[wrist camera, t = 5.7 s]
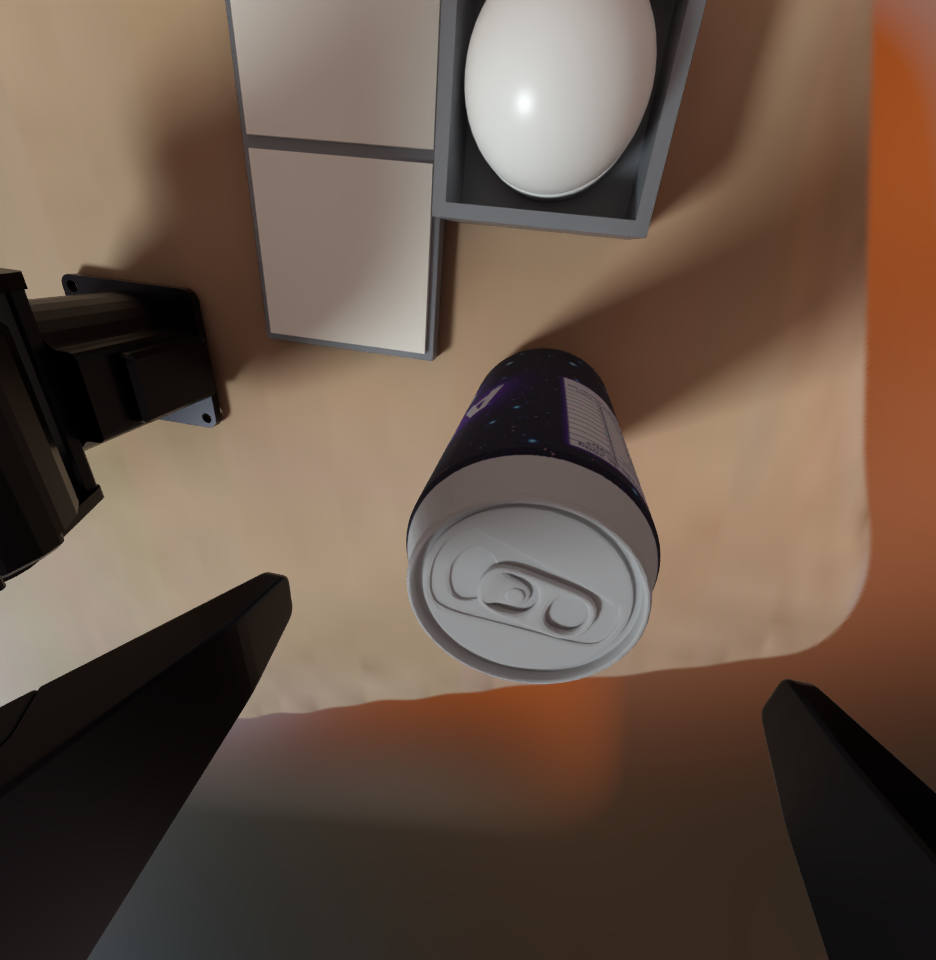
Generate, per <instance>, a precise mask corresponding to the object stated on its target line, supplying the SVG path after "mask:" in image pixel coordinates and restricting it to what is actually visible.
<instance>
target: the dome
mask: <svg viewBox="0 0 936 960" xmlns="http://www.w3.org/2000/svg"><path fill="white" fill-rule="evenodd" d="M656 57H657V46H656V29H655V23H654V16H653V12H652V9H651V5H650V1H649V0H486V2H485V4H484V5H483V7H482V9H481V12H480V14H479V16H478V18H477V21H476V23H475V26H474V29H473V32H472V36H471V39H470V43H469V48H468V52H467V58H466V67H465V102H466V110H467V115H468V120H469V124H470V127H471V130H472V134H473V136H474V138H475V141H476V143H477V145H478V148H479V150H480V151H481V153H482V155H483V157H484V158H485V160H486V161H487V163H488V164H489V165H490V167H491V168H492V169H493V170H494V172H495V173H496V174H497V175H498V176H499V177H500V179H501V180H502V181H503V182H504V183H505V184H506V185H507V186H508V187H509V188H510V189H512V190H513V191H514V192H516V193H517V194H519V195H521V196H523V197H525V198H528V199H531V200H534V201H539V202H559V201H564V200H568V199H571V198H573V197H576V196H578V195H580V194H582V193H584V192H585V191H587V190H589V189H590V188H592V187H593V186H594V185H595V184H597V183H598V182H599V181H600V180H601V179H602V178H603V177H604V176H605V175H606V174H607V173H608V172H609V171H610V169H611V168H612V167H613V166H614V164H615V163H616V162H617V160H618V159H619V157H620V156H621V155H622V153H623V152H624V150H625V149H626V147H627V146H628V144H629V143H630V141H631V139H632V138H633V136H634V134H635V133H636V131H637V129H638V127H639V125H640V123H641V120H642V118H643V115H644V113H645V110H646V108H647V105H648V102H649V98H650V95H651V91H652V88H653V82H654V77H655V71H656Z"/></svg>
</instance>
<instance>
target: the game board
mask: <svg viewBox="0 0 936 960" xmlns="http://www.w3.org/2000/svg"><path fill="white" fill-rule="evenodd" d="M225 2H226V10H227V18H228V26H229V34H230V42H231V50H232V58H233V66H234V74H235V81H236V89H237V97H238V105H239V113H240V121H241V129H242V137H243V145H244V153H245V160H246V168H247V176H248V184H249V192H250V200H251V208H252V216H253V224H254V232H255V239H256V247H257V255H258V263H259V271H260V279H261V287H262V295H263V303H264V311H265V318H266V326H267V334H268V338H271V339H278V340H285V341H292V342H299V343H306V344H314V345H321V346H328V347H335V348H342V349H349V350H357V351H364V352H371V353H378V354H385V355H392V356H400V357H407V358H414V359H421V360H428V361H433V360H434V359H435V358H436V357H437V348H438V331H439V313H440V296H441V278H442V261H443V244H444V226H445V219H442V218H437V217H433V216H432V204H433V181H434V159H435V137H436V114H437V92H438V70H439V47H440V25H441V3H442V0H225Z"/></svg>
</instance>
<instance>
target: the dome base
mask: <svg viewBox="0 0 936 960" xmlns="http://www.w3.org/2000/svg"><path fill="white" fill-rule="evenodd" d="M649 1H650V5H651V9H652V12H653V16H654V23H655V29H656V46H657V57H656V71H655V77H654V82H653V88H652V91H651V95H650V98H649V102H648V105H647V108H646V110H645V113H644V115H643V118H642V120H641V123H640V125H639V127H638V129H637V131H636V133H635V134H634V136H633V138H632V139H631V141H630V143H629V144H628V146H627V147H626V149H625V150H624V152H623V153H622V155H621V156H620V157H619V159H618V160H617V162H616V163H615V164H614V166H613V167H612V168H611V169H610V171H609V172H608V173H607V174H606V175H605V176H604V177H603V178H602V179H601V180H600V181H599V182H598V183H597V184H595V185H594V186H593V187H592V188H590V189H589V190H587V191H585V192H584V193H582V194H580V195H578V196H576V197H573V198H571V199H568V200H564V201H559V202H539V201H534V200H531V199H528V198H525V197H523V196H521V195H519V194H517V193H516V192H514V191H513V190H512V189H510V188H509V187H508V186H507V185H506V184H505V183H504V182H503V181H502V180H501V179H500V177H499V176H498V175H497V174H496V173H495V172H494V170H493V169H492V168H491V167H490V165H489V164H488V163H487V161H486V160H485V158H484V157H483V155H482V153H481V151H480V150H479V148H478V145H477V143H476V141H475V138H474V136H473V134H472V130H471V127H470V124H469V120H468V115H467V110H466V102H465V67H466V58H467V52H468V48H469V43H470V39H471V36H472V32H473V29H474V26H475V23H476V21H477V18H478V16H479V14H480V12H481V9H482V7H483V5H484V4H485V2H486V0H442V3H441V25H440V47H439V70H438V92H437V114H436V137H435V159H434V181H433V204H432V216H433V217H437V218H442V219H446V220H450V221H454V222H462V223H472V224H482V225H491V226H501V227H511V228H521V229H531V230H540V231H550V232H560V233H570V234H579V235H589V236H599V237H609V238H619V239H628V240H630V239H640V238H646V236H647V232H648V229H649V225H650V221H651V217H652V213H653V209H654V205H655V201H656V197H657V193H658V189H659V185H660V181H661V177H662V174H663V170H664V166H665V162H666V158H667V154H668V150H669V146H670V142H671V138H672V134H673V130H674V126H675V122H676V119H677V115H678V111H679V107H680V103H681V99H682V95H683V91H684V87H685V83H686V79H687V75H688V71H689V68H690V64H691V60H692V56H693V52H694V48H695V44H696V40H697V36H698V32H699V28H700V24H701V20H702V16H703V13H704V9H705V5H706V1H707V0H649Z"/></svg>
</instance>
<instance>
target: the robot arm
mask: <svg viewBox="0 0 936 960" xmlns="http://www.w3.org/2000/svg"><path fill="white" fill-rule="evenodd" d="M75 284H76V285H75ZM62 285H63V288H64V291H65V294H66V296H58V297H48V298H38V299H28V298H27V296H26V293H25V290H24V289H28V288H27V286H26V283H25V280H24V277H23V275H22V272H21V271H19V270H12V269H4V268H0V591H1V590H3V589H4V588H5V587H6V584H5V583H4V582H5V581H8V580H10V579H12V578H14V577H16V576H18V575H19V574H21V573H23V572H24V571H26V570H28V569H29V568H31V567H32V566H33V565H35V564H36V563H37V562H38V561H40V560H41V559H43V558H44V557H45V556H47V555H48V554H50V553H51V552H53V551H54V550H56V549H57V548H58V547H59V546H60V545H61V544H62V543H63V542H64V536H65V535H66V534H67V533H68V532H69V531H70V530H71V529H72V528H73V527H74V526H76V525H77V524H78V523H79V522H80V521H81V520H82V519H83V518H84V517H85V516H86V515H87V514H88V513H89V512H90V511H91V510H92V509H93V508H94V507H95V506H96V505H97V504H98V503H99V502H100V501H101V500H102V499H103V498H104V495H103V493H102V490H101V487H100V485H98V484H96V482H95V479H94V476H93V474H92V471H91V468H90V466H89V463H88V460H87V457H86V455H85V452H84V451H85V450H88V449H90V448H92V447H95V446H97V445H99V444H101V443H104V442H106V441H108V440H111V439H113V438H115V437H118V436H120V435H122V434H125V433H127V432H129V431H132V430H134V429H136V428H139V427H141V426H143V425H145V424H148V423H151V422H153V421H156V420H158V419H161V420H167V421H173V422H179V423H185V424H191V425H197V426H203V427H214V426H216V425H218V424H219V423H220V422H221V413H220V408H219V403H218V398H217V393H216V387H215V382H214V377H213V372H212V367H211V362H210V356H209V351H208V346H207V341H206V336H205V331H204V325H203V320H202V315H201V310H200V305H199V300H198V298H197V296H196V294H195V293H194V292H193V291H192V290H191V289H188V288H184V287H177V286H169V285H161V284H153V283H146V282H138V281H130V280H122V279H115V278H107V277H99V276H91V275H83V274H65V275H64V276H63V277H62ZM76 286H77V287H76ZM183 296H184V297H185V298H186V300H187V304H186V303H185V302H184V299H183ZM208 415H209V416H210V417H211V419H210V418H209V417H208ZM291 613H292V600H291V593H290V586H289V581H288V578H287V577H286V576H284V575H280V574H275V573H270V572H266V573H263V574H260V575H258V576H257V577H255V578H253V579H251V580H249V581H247V582H245V583H243V584H241V585H239V586H237V587H235V588H233V589H231V590H229V591H227V592H225V593H223V594H221V595H219V596H217V597H215V598H213V599H211V600H210V601H208V602H206V603H204V604H202V605H200V606H198V607H196V608H194V609H192V610H190V611H188V612H186V613H184V614H182V615H180V616H178V617H176V618H174V619H172V620H170V621H168V622H166V623H164V624H163V625H161V626H159V627H157V628H155V629H153V630H151V631H149V632H147V633H145V634H143V635H141V636H139V637H137V638H135V639H133V640H131V641H129V642H127V643H125V644H123V645H121V646H119V647H117V648H116V649H114V650H112V651H110V652H108V653H106V654H104V655H102V656H100V657H98V658H96V659H94V660H92V661H90V662H88V663H86V664H84V665H82V666H80V667H78V668H76V669H74V670H72V671H70V672H69V673H67V674H65V675H63V676H61V677H59V678H57V679H55V680H53V681H51V682H49V683H47V684H45V685H43V686H41V687H40V688H39V689H38V691H36V690H34V691H31V692H29V693H27V694H25V695H23V696H21V697H19V698H17V699H15V700H13V701H11V702H9V703H8V704H6V705H4V706H2V707H0V960H87V958H88V957H89V955H90V954H91V952H92V950H93V949H94V947H95V946H96V944H97V942H98V941H99V939H100V938H101V936H102V934H103V933H104V931H105V930H106V928H107V926H108V925H109V923H110V922H111V920H112V918H113V917H114V915H115V914H116V912H117V910H118V909H119V907H120V906H121V904H122V902H123V901H124V899H125V898H126V896H127V894H128V893H129V891H130V890H131V888H132V886H133V885H134V883H135V881H136V880H137V878H138V877H139V875H140V873H141V872H142V870H143V869H144V867H145V865H146V864H147V862H148V861H149V859H150V857H151V856H152V854H153V853H154V851H155V849H156V848H157V846H158V845H159V843H160V841H161V840H162V838H163V837H164V835H165V833H166V832H167V830H168V829H169V827H170V825H171V824H172V822H173V821H174V819H175V817H176V816H177V814H178V813H179V811H180V809H181V808H182V806H183V804H184V803H185V801H186V800H187V798H188V797H189V795H190V793H191V792H192V790H193V788H194V786H195V785H196V784H197V782H198V780H199V779H200V777H201V776H202V774H203V772H204V771H205V769H206V768H207V766H208V765H209V763H210V761H211V760H212V758H213V756H214V755H215V753H216V752H217V750H218V748H219V747H220V745H221V744H222V742H223V740H224V739H225V737H226V736H227V734H228V732H229V731H230V729H231V728H232V726H233V724H234V723H235V721H236V720H237V718H238V716H239V715H240V713H241V712H242V710H243V708H244V707H245V705H246V703H247V702H248V700H249V698H250V697H251V695H252V693H253V691H254V690H255V688H256V686H257V684H258V682H259V680H260V678H261V676H262V674H263V672H264V670H265V668H266V666H267V664H268V662H269V660H270V658H271V656H272V654H273V652H274V650H275V648H276V646H277V644H278V642H279V640H280V637H281V635H282V633H283V631H284V629H285V627H286V625H287V623H288V621H289V619H290V617H291ZM762 723H763V728H764V733H765V737H766V742H767V746H768V751H769V756H770V760H771V764H772V769H773V774H774V778H775V783H776V787H777V792H778V797H779V801H780V805H781V809H782V813H783V817H784V821H785V824H786V827H787V831H788V834H789V837H790V841H791V844H792V847H793V850H794V853H795V856H796V859H797V863H798V866H799V869H800V872H801V875H802V878H803V881H804V884H805V887H806V891H807V894H808V897H809V900H810V903H811V906H812V909H813V913H814V916H815V919H816V922H817V925H818V928H819V931H820V934H821V937H822V941H823V943H824V947H825V949H826V953H827V956H828V959H829V960H936V793H935V792H934V791H933V790H932V789H931V788H930V787H929V786H927V785H926V784H925V783H924V782H923V781H922V780H921V779H920V778H918V777H917V776H916V775H915V774H914V773H913V772H912V771H911V770H909V769H908V768H907V767H906V766H905V765H904V764H903V763H902V762H901V761H899V760H898V759H897V758H896V757H895V756H894V755H893V754H892V753H890V752H889V751H888V750H887V749H886V748H885V747H884V746H883V745H881V744H880V743H879V742H878V741H877V740H876V739H875V738H874V737H873V736H871V735H870V734H869V733H868V732H867V731H866V730H865V729H863V728H862V727H861V726H860V725H859V724H858V723H857V722H856V721H854V720H853V719H852V718H851V717H850V716H849V715H848V714H847V713H845V712H844V711H843V710H842V709H841V708H840V707H839V706H838V705H837V704H835V703H834V702H833V701H832V700H831V699H830V698H829V697H828V696H826V695H825V694H824V693H823V692H822V691H821V690H820V689H818V688H817V687H816V686H815V685H813V684H811V683H808V682H802V681H798V680H793V679H784V680H782V681H781V682H780V683H779V684H778V686H777V687H776V689H775V690H774V692H773V693H772V695H771V696H770V698H769V699H768V701H767V702H766V703H765V705H764V707H763V710H762Z"/></svg>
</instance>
